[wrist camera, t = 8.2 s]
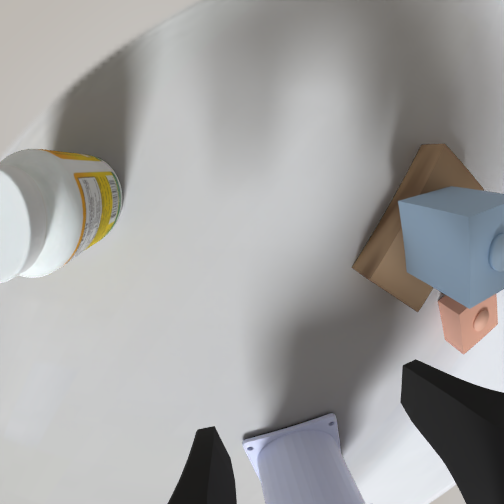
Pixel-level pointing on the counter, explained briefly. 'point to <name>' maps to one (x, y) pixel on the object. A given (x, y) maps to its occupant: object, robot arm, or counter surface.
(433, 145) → the base brick
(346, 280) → the counter surface
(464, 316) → the brick
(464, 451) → the robot arm
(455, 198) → the blue brick
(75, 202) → the supplement bottle
